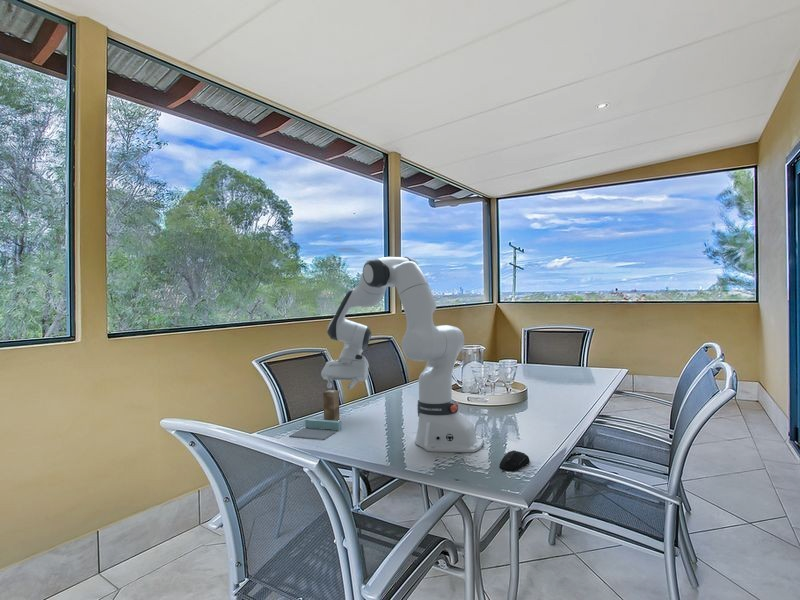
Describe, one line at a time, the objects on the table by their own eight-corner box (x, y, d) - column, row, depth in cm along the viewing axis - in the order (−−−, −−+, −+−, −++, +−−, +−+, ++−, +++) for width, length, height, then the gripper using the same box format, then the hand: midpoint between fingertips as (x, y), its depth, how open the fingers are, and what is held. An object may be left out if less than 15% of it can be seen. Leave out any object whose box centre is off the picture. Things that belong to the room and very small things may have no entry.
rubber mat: (336, 432, 165) (336, 431, 165) (324, 440, 156) (324, 439, 156) (302, 429, 169) (302, 428, 169) (289, 436, 161) (289, 435, 161)
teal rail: (341, 429, 169) (340, 421, 169) (338, 430, 167) (338, 422, 167) (308, 426, 173) (307, 418, 173) (305, 427, 171) (305, 419, 171)
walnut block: (339, 420, 180) (338, 390, 180) (334, 423, 176) (333, 392, 176) (329, 419, 182) (328, 389, 181) (324, 422, 177) (323, 391, 177)
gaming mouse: (489, 472, 126) (489, 458, 126) (513, 457, 138) (513, 444, 138) (510, 478, 122) (509, 463, 122) (533, 462, 133) (533, 448, 133)
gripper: (324, 355, 195) (314, 382, 186) (368, 356, 189) (359, 384, 180) (330, 364, 200) (319, 390, 191) (372, 365, 193) (364, 393, 184)
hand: (339, 387), depth 185 cm, fingers open, 8 cm apart
